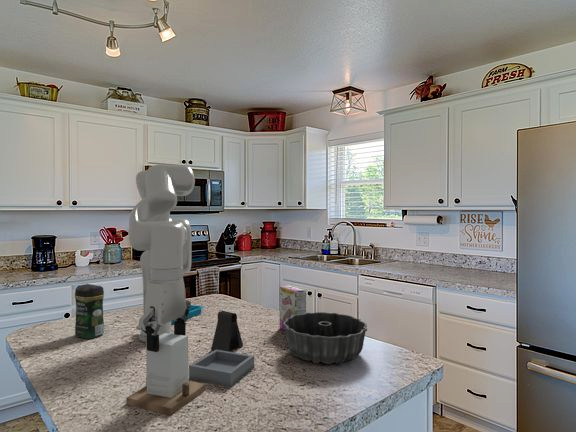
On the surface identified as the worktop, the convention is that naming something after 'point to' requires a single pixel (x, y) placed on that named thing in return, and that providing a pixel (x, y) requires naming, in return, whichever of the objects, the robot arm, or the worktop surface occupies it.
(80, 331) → the coffee jar
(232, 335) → the phone stand
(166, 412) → the peg stand
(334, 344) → the bundt pan
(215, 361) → the tray
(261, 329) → the worktop surface
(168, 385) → the supplement box
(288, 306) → the candy bar box
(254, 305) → the worktop surface
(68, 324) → the worktop surface
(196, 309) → the ice cube tray
